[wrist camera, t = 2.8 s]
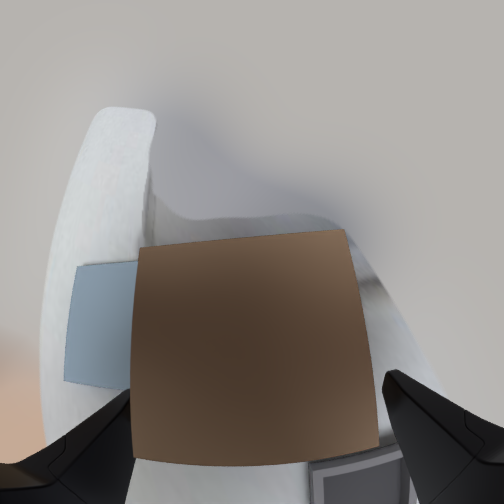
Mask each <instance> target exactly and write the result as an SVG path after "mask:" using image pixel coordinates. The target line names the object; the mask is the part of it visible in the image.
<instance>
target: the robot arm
mask: <svg viewBox="0 0 504 504" xmlns="http://www.w3.org/2000/svg"><path fill="white" fill-rule="evenodd" d="M382 393H383V397H384V401H385V404H386V408H387V412H388V415H389V419H390V423H391V426H392V429H393V431H394V434H395V437H396V439H397V442H398V444H399V447H400V450H401V452H402V455H403V457H404V460H405V463H406V466H407V468H408V471H409V474H410V477H411V480H412V483H413V486H414V488H415V491H416V494H417V497H418V500H419V504H504V428H503V427H500V426H498V425H495V424H493V423H491V422H488V421H486V420H484V419H481V418H480V417H478V416H476V415H474V414H472V413H470V412H469V411H467V410H464V409H463V408H462V407H460V406H458V405H457V404H455V403H453V402H451V401H450V400H448V399H446V398H445V397H443V396H441V395H439V394H438V393H436V392H434V391H433V390H431V389H429V388H428V387H426V386H424V385H423V384H421V383H419V382H417V381H416V380H414V379H412V378H411V377H409V376H408V375H406V374H404V373H403V372H401V371H399V370H397V369H395V370H390V371H387V372H386V374H385V378H384V382H383V385H382ZM135 460H136V458H134V456H133V445H132V431H131V409H130V388H128V389H126V390H125V391H123V392H122V393H121V394H119V395H118V396H117V397H115V398H114V399H113V400H111V401H110V402H109V403H107V404H106V405H105V406H103V407H102V408H101V409H99V410H98V411H97V412H95V413H94V414H93V415H91V416H90V417H89V418H87V419H86V420H84V421H83V422H82V423H80V424H79V425H78V426H76V427H75V428H73V429H72V430H71V431H69V432H68V433H67V434H66V435H64V436H62V437H61V438H59V439H58V440H57V441H55V442H54V443H52V444H51V445H49V446H47V447H46V448H44V449H42V450H41V451H39V452H37V453H35V454H33V455H31V456H29V457H27V458H26V459H24V460H22V461H20V462H17V463H13V464H5V463H0V504H125V501H126V496H127V492H128V488H129V484H130V480H131V476H132V472H133V468H134V464H135Z"/></svg>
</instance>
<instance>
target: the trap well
mask: <svg viewBox="0 0 504 504" xmlns="http://www.w3.org/2000/svg"><path fill="white" fill-rule="evenodd" d="M309 479H310V501H311V504H416V501H417V494H416V491H415V488H414V486H413V483H412V480H411V477H410V474H409V471H408V468H407V466H406V463H405V460H404V457H403V455H402V452H401V450H400V447H399V444H398V443H396V444H393V445H389V446H386V447H383V448H379V449H375V450H372V451H368V452H364V453H360V454H356V455H351V456H347V457H342V458H337V459H332V460H326V461H320V462H314V463H309Z"/></svg>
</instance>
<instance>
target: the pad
mask: <svg viewBox="0 0 504 504" xmlns="http://www.w3.org/2000/svg"><path fill="white" fill-rule="evenodd" d="M137 266H138V261H132V262H121V263H110V264H99V265H88V266H77V270H76V275H75V280H74V285H73V291H72V297H71V304H70V311H69V318H68V326H67V336H66V347H65V362H64V381H67V382H73V383H78V384H84V385H90V386H96V387H103V388H110V389H118V390H126V389H128V388H130V353H131V331H132V316H133V303H134V292H135V283H136V274H137Z"/></svg>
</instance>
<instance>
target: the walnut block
mask: <svg viewBox="0 0 504 504" xmlns="http://www.w3.org/2000/svg"><path fill="white" fill-rule="evenodd" d="M130 409H131V431H132V445H133V456H134V458H140V459H146V460H152V461H159V462H167V463H176V464H187V465H201V466H263V465H277V464H288V463H297V462H305V461H312V460H319V459H325V458H330V457H336V456H341V455H346V454H350V453H355V452H359V451H363V450H367V449H371V448H375V447H378V446H379V431H378V417H377V406H376V396H375V387H374V378H373V370H372V363H371V356H370V349H369V343H368V337H367V331H366V325H365V319H364V314H363V309H362V304H361V299H360V294H359V289H358V284H357V280H356V275H355V271H354V266H353V262H352V258H351V254H350V250H349V246H348V242H347V238H346V234H345V231H344V229H340V230H327V231H315V232H302V233H290V234H279V235H267V236H256V237H245V238H234V239H223V240H213V241H202V242H192V243H182V244H172V245H162V246H153V247H143V248H140V251H139V258H138V266H137V274H136V283H135V292H134V303H133V316H132V331H131V353H130Z"/></svg>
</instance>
